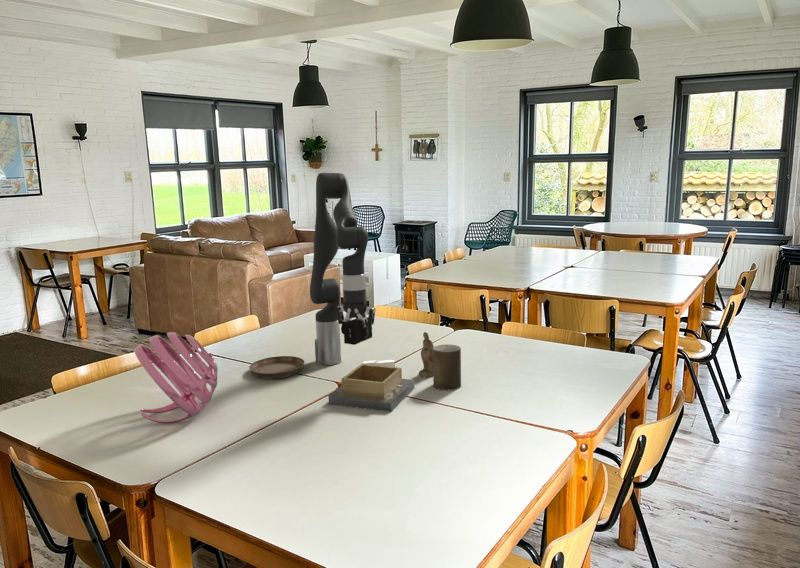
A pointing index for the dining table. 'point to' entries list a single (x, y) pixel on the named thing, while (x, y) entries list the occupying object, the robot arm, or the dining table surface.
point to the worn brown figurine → (427, 356)
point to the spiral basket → (179, 373)
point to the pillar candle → (447, 367)
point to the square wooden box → (372, 388)
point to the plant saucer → (277, 367)
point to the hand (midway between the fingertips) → (356, 337)
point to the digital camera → (354, 332)
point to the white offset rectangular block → (381, 363)
